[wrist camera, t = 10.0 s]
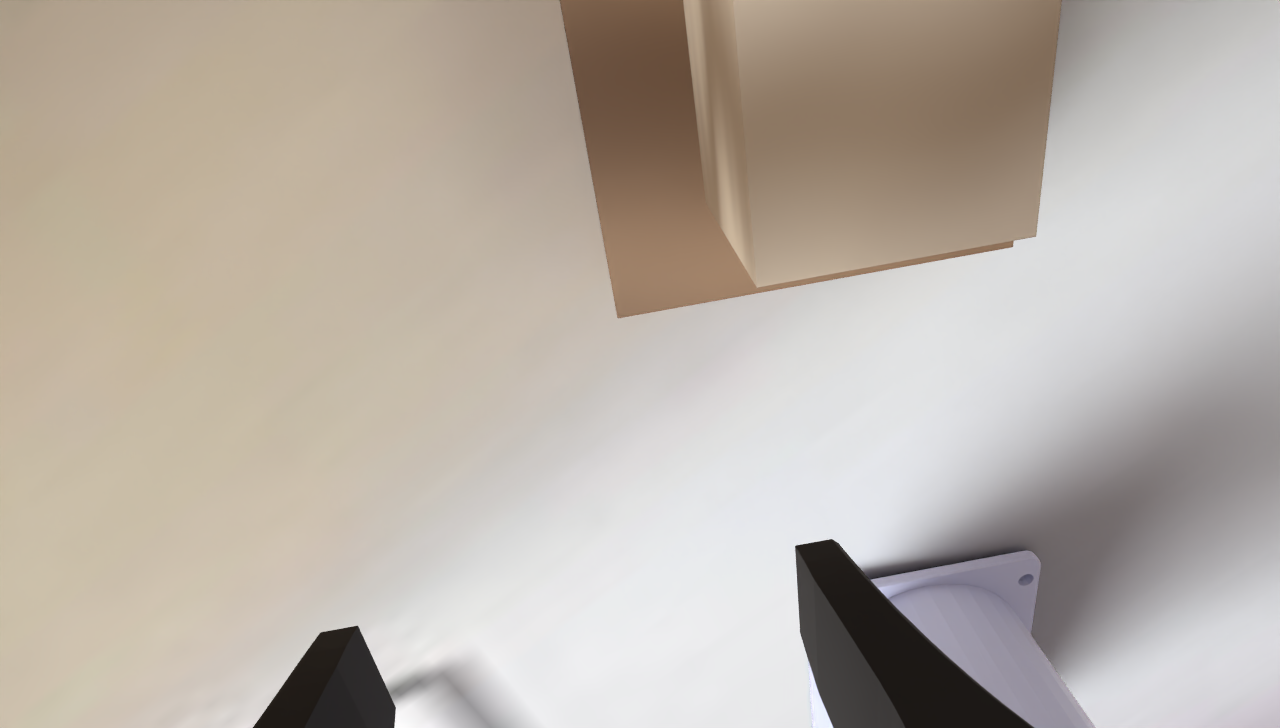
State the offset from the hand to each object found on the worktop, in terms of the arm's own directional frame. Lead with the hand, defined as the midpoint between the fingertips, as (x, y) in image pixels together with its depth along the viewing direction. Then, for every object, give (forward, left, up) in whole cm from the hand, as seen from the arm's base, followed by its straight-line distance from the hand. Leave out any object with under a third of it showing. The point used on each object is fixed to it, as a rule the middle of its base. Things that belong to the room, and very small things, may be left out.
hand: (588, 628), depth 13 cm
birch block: (+7, -6, -6) cm, 11 cm away
